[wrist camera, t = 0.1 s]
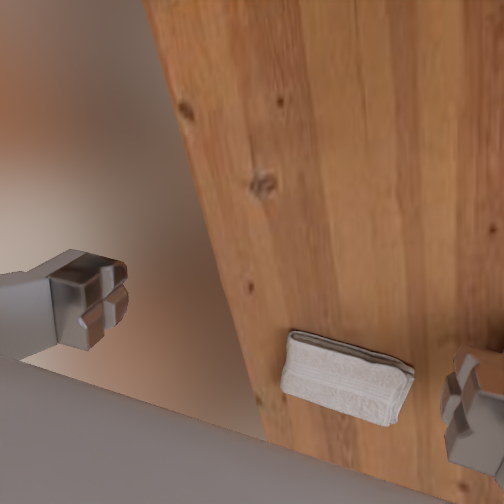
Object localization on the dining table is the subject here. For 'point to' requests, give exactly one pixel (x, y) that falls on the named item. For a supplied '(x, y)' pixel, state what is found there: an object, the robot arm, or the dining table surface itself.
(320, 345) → the washcloth
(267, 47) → the dining table surface
